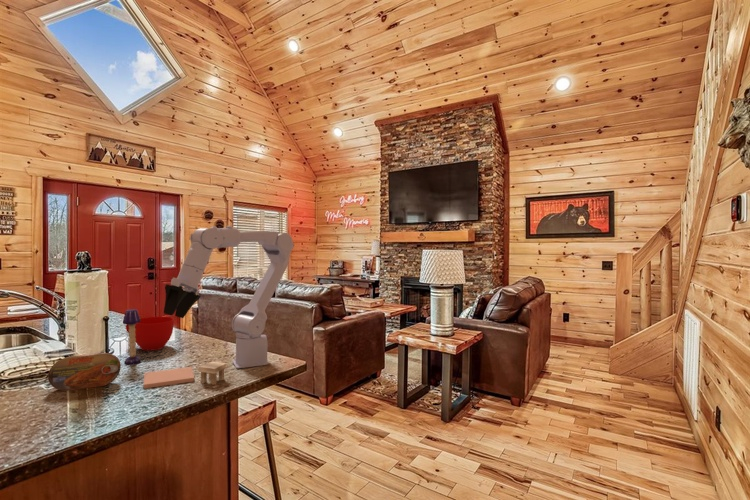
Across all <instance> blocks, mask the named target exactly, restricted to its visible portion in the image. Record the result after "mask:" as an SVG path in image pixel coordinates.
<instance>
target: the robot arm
mask: <svg viewBox="0 0 750 500" xmlns="http://www.w3.org/2000/svg"><path fill="white" fill-rule="evenodd" d="M189 239H190V243H191V244H190V246H189V249H188V251H187V254H186V256H185V259H184V261H183V263H182V266H181V268H180V270H179V273H178V275H177V277H172V278H171V282H170V284H165V286H164V289H165V290H164V291H165V300H164V308H163V314H164V315H169V316H173V315H174V314H175V315H174V317H177V318H181V319H184V318H185V317H186V315H187V314H188V312H189V311H190V309H191V308H192V307H193V305H194V304H196V302H198V301H199V300H200V299H201V295H199V294H198V293H199V291H200V287H199V284H200V283H201V280H202V277H203V275H204V273H205V269H206V267H207V266H208V263H209V260H210V258H211V255H212V253H213V250H214V249H215V250H216V249H219V248H233V247H234V248H235V247H238V246H239V245H240V243H251V242H252V243H256V242H257V243H258V245H260V246H261V247H262V250H264V252H265V254H266V256H267V258H268V259H269V260H270V264H269V265H268V267H267V269H266V271H265V273H264V275H263V277H262V278H261V280H260V282H259V284H258V286H257V288H256V289H255V291H254V294H253V295H252V297H251V299H250V301H249V303H248V304H246V305H245V306H243V307H242V308H241V309H240V310H239V312H238V313H237V314H235V316H234V317H233V318H232V320H231V328H232V330H233V332H234V335H235V359H232V360H231V361H232V363H233V365H234V366H235V368H236V369H246V368H251V367H258V366H267V365H268V364H269V363H268V337H267V335H266V334H263V333H264V331H265V328H266V322H267V319H268V315H267V313H266V309H267V308H268V305H269V304H270V302H271V299H272V297H273V296H274V293H275V292H276V290H277V288H278V285H279V283H280V281H281V280H282V278H283V276H284V274H285V272H286V270H287V269H288V266H289V263H290V257H291V252H292V251H293V249H294V246H295V245H294V242H293V238H292V236H291V235H290V233H287V232H280V231H271V230H256V231H255V230H254V231H253V230H252V231H240V230H239V229H238V228H236V227H233V226H232V225H226V226H225V227H217V226H211V227H210V228H206V227H205V228H197V229H196V230H194V231H193V233H191V234H190V236H189Z"/></svg>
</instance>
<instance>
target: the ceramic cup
mask: <svg viewBox="0 0 750 500" xmlns="http://www.w3.org/2000/svg"><path fill="white" fill-rule="evenodd" d="M174 321H175V318H174V317H171V316H147V317H140V322H139V323H136V324H135V334H136V335H135V338H136V341H135V343H136V346H138V347H139V348H141V350H142V351H156V350H161V349H163V348H164V347H165V346H166V344H167V343H168V342H169V340H171V337H172V334H173V331H174V324H175V323H174ZM125 325H126V326H125V329H126V332H127V334H129V324H125Z"/></svg>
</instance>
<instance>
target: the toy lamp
mask: <svg viewBox="0 0 750 500" xmlns="http://www.w3.org/2000/svg"><path fill="white" fill-rule="evenodd" d="M140 318H141V317H140V315H139V311H138V309H136V308H133V309H132V308H131V309H130V308H129V309H126V310H125V312H124V316H123V319H122V324H123V325H127V324H129V333H128V337H129V339H128V342H129V343H128V346H129V349H128V352H129V353H128V355H129V356H128V357H127V358H126V359H125V360H124V365H128V366H129V365H137V364H139V363H141V361H142V360H141V358H140V357H139V356H137V351H136V349H137V348H136V346H137V343H136V342H135V341H136V338H135V335H136V334H135V324H136V323H139V322H140Z"/></svg>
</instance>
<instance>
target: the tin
mask: <svg viewBox="0 0 750 500" xmlns="http://www.w3.org/2000/svg"><path fill="white" fill-rule="evenodd" d="M121 364H122V363H121V361H120V359H119V358H118V357H117V356H116V354H115V355H114V354H112V353H109V352H100V353H99V352H98V353H92V354H82V355H73V356H71V355H69V356H66V357H63V358H61V359H59V360H58V361H56V362H54V363H53V365H52V366H51V367H50V369H49V370H48V374H47V380H48V382H49V384H50V386H51V387H52V388H54V389H56V390H58V391H62V392H63V391H64V392H65V391H66V392H67V391H74V390H83V389H89V388H98V387H104V386H107V385H109V384H111V383H113V382H114V381H115V380H116V379H117V378H118V376H119V374H120V372H121V369H122V366H121Z"/></svg>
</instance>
